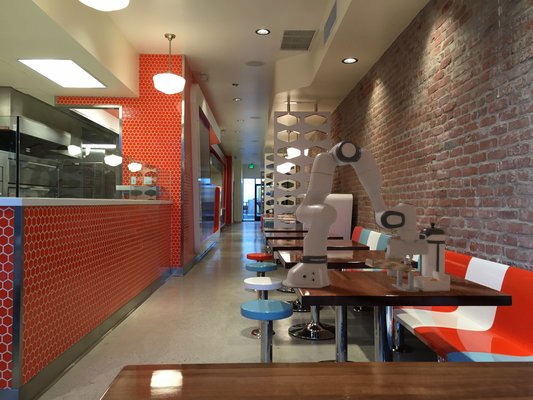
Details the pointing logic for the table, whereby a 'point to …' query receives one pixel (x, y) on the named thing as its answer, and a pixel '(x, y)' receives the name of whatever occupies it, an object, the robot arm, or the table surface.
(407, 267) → the lever ramp
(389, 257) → the coffee cup
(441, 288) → the dish
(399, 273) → the lever stand
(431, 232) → the coffee press
